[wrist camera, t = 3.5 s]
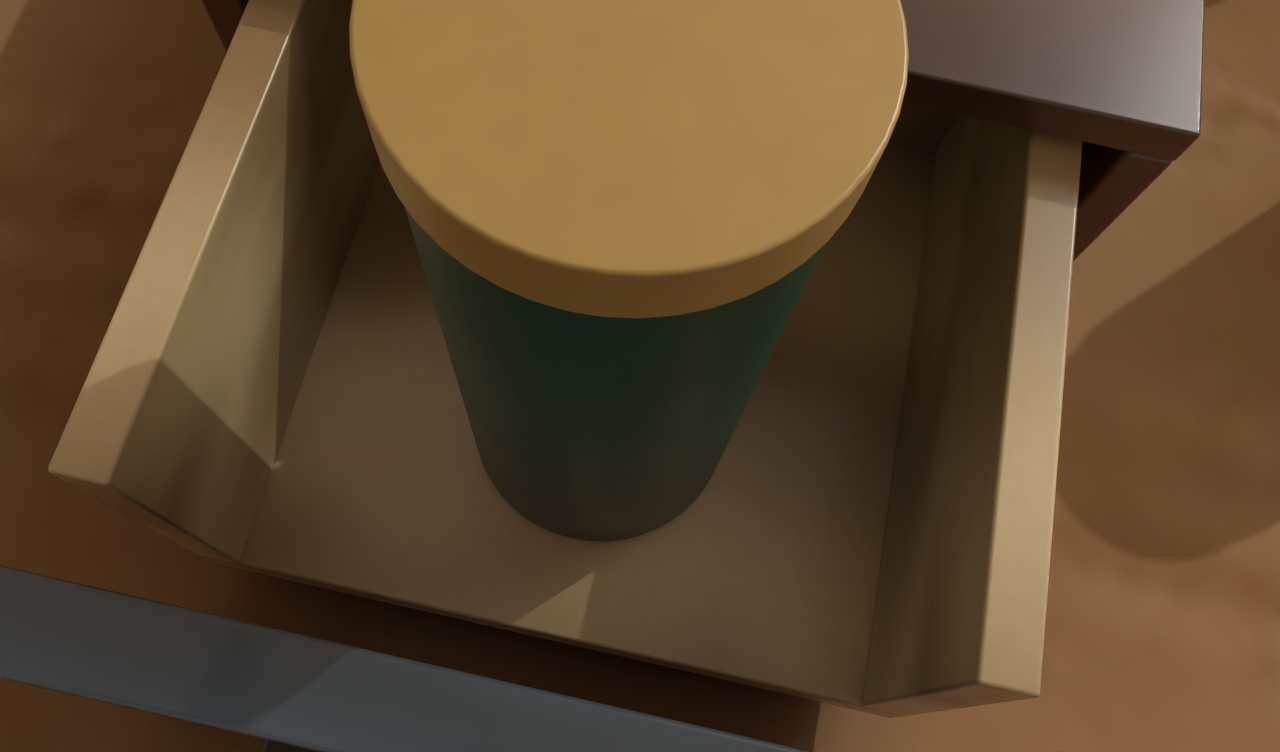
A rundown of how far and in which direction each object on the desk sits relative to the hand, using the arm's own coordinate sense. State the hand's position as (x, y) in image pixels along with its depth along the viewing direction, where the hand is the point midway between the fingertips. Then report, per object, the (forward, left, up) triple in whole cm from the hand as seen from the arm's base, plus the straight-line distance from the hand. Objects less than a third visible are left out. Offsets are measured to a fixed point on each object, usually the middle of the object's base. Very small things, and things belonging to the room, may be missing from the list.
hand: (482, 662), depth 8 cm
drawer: (+4, +1, -11) cm, 12 cm away
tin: (+5, +1, -10) cm, 11 cm away
